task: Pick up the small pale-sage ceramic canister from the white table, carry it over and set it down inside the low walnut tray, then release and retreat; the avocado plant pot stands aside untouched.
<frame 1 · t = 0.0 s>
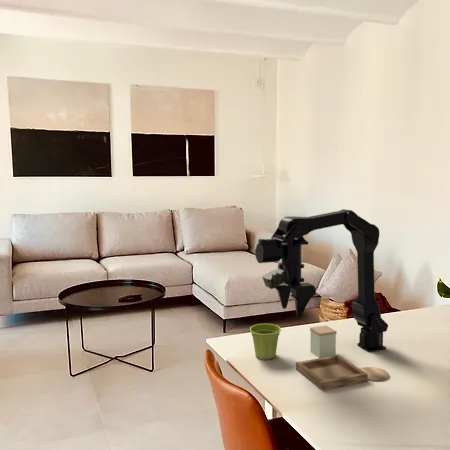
hand: (291, 312, 141), 15 cm above the table, tool pointing down, fingers open, 9 cm apart
cork coaster: (373, 374, 132), on the table
sage canister: (322, 354, 147), on the table
walnut tray: (330, 375, 132), on the table
plant pot: (265, 356, 146), on the table
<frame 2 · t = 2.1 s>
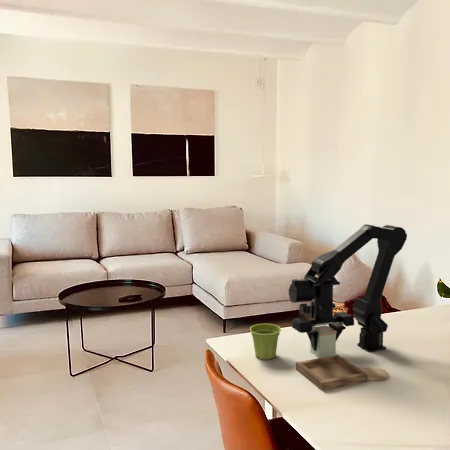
hand: (322, 349, 147), 2 cm above the table, tool pointing down, fingers closed on sage canister, 5 cm apart
sage canister: (322, 353, 147), on the table, touching gripper
everything else where it was.
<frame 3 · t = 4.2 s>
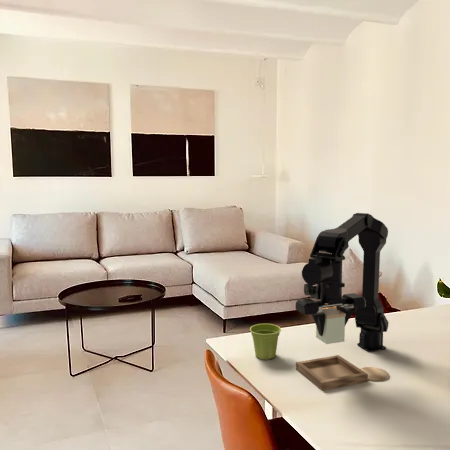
hand: (330, 334, 131), 12 cm above the table, tool pointing down, fingers closed on sage canister, 5 cm apart
sage canister: (330, 339, 131), point 10 cm above the table, touching gripper
everything else where it was.
when the fingers open (4 cm above the table, at t = 6.1 s): sage canister drops 1 cm, resting on walnut tray.
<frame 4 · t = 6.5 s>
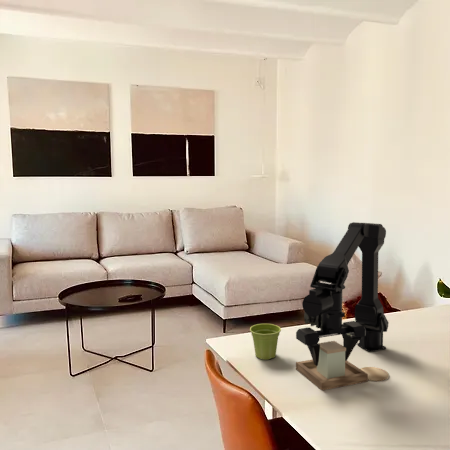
hand: (330, 362, 132), 4 cm above the table, tool pointing down, fingers open, 9 cm apart
sage canister: (330, 373, 132), point 1 cm above the table, touching walnut tray
everything else where it was.
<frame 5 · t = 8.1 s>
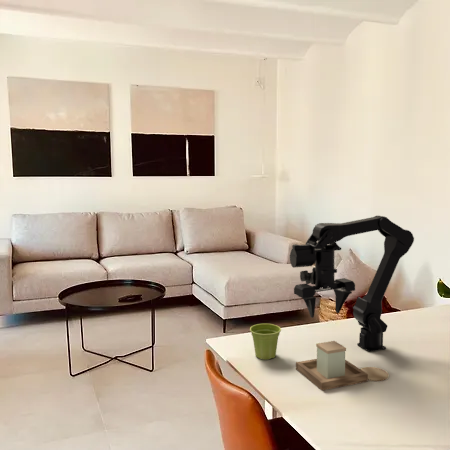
hand: (324, 315, 147), 12 cm above the table, tool pointing down, fingers open, 9 cm apart
nothing on the table moved.
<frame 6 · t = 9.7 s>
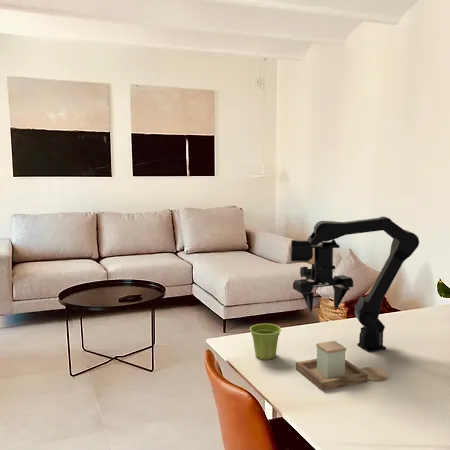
hand: (323, 310, 152), 12 cm above the table, tool pointing down, fingers open, 9 cm apart
nothing on the table moved.
at the end: sage canister inside the target area on the walnut tray (0.1 cm from its centre), point 0.6 cm above the walnut tray's base; sage canister tilted 0°; the gripper is holding nothing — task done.
